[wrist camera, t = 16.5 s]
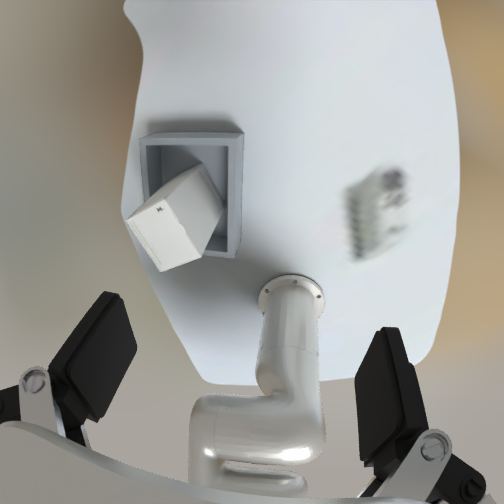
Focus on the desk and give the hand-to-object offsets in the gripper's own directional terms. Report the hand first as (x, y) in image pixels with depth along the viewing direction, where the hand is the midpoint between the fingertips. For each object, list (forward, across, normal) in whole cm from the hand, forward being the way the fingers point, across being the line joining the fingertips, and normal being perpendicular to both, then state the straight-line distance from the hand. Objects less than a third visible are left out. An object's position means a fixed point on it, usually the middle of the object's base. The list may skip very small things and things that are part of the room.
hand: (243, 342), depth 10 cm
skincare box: (+36, +13, +8) cm, 38 cm away
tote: (+36, +13, +7) cm, 39 cm away
